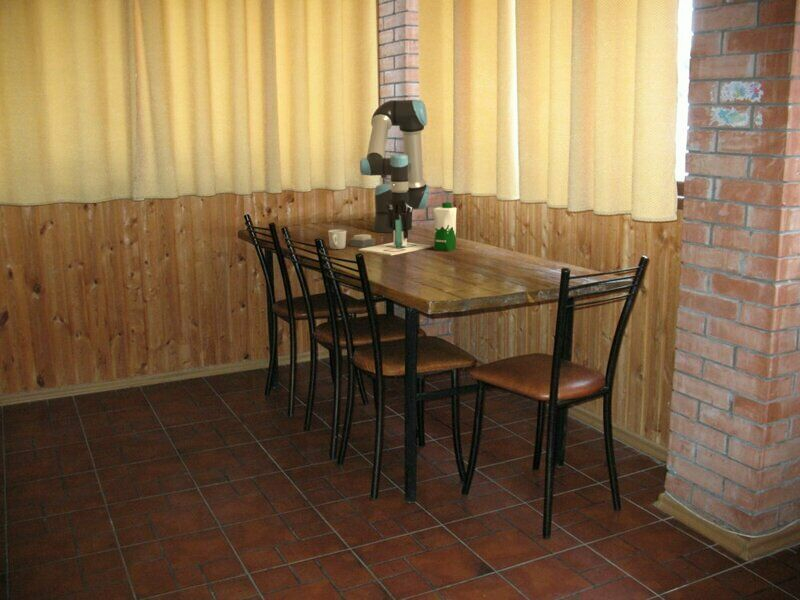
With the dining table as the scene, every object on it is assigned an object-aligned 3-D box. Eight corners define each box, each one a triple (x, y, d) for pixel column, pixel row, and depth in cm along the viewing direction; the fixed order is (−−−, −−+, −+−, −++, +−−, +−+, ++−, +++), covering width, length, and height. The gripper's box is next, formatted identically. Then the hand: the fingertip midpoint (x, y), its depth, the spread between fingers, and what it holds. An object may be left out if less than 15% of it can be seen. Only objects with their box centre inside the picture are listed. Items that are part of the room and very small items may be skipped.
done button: (362, 240, 393) (362, 234, 392) (371, 241, 389) (370, 235, 389) (353, 242, 389) (353, 235, 388) (362, 243, 385) (362, 236, 385)
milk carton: (458, 248, 378) (458, 202, 373) (449, 252, 370) (449, 205, 366) (440, 247, 382) (440, 201, 377) (431, 250, 374) (430, 204, 370)
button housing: (362, 243, 395) (362, 236, 394) (375, 245, 390) (375, 238, 389) (349, 245, 389) (349, 239, 389) (362, 247, 384) (362, 240, 383)
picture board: (399, 243, 395) (399, 240, 394) (431, 247, 382) (431, 245, 382) (358, 250, 376) (358, 248, 376) (391, 255, 364) (391, 253, 363)
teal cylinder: (400, 245, 381) (399, 218, 378) (407, 246, 379) (406, 219, 376) (394, 247, 378) (393, 219, 376) (401, 248, 376) (400, 220, 373)
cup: (342, 251, 375) (341, 233, 373) (324, 251, 376) (324, 232, 375) (348, 247, 385) (348, 229, 383) (331, 247, 387) (330, 229, 385)
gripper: (379, 190, 376) (380, 244, 381) (408, 193, 365) (409, 248, 370) (390, 189, 381) (391, 242, 387) (420, 191, 370) (420, 246, 375)
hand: (400, 245), depth 378 cm, fingers closed on teal cylinder, 4 cm apart
